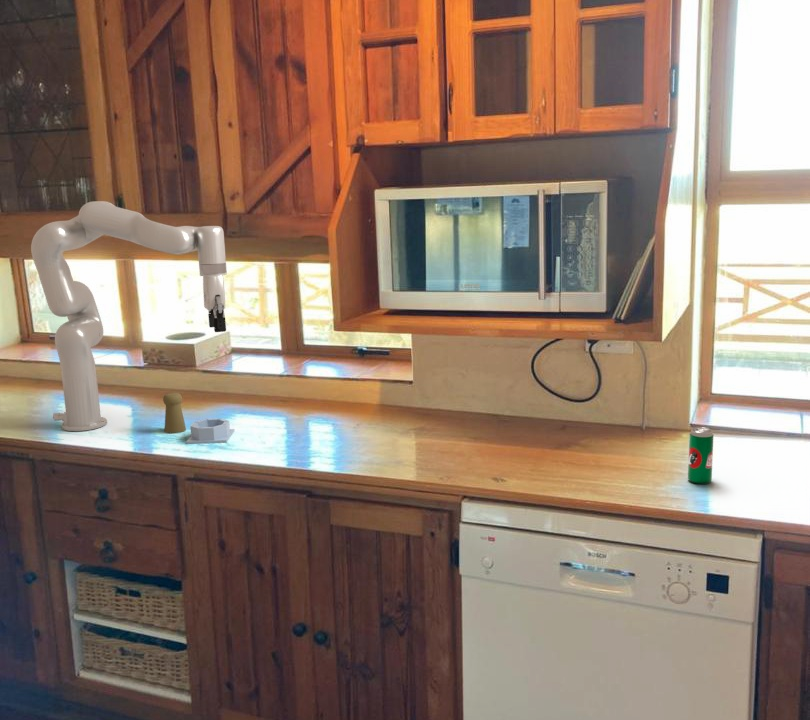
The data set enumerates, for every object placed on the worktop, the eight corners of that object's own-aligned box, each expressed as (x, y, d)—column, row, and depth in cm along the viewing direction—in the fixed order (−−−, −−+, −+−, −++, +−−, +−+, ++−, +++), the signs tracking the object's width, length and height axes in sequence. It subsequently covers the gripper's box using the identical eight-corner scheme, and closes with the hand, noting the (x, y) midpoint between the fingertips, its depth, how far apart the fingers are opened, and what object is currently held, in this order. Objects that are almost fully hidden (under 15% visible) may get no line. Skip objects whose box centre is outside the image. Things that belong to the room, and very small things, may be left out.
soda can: (711, 486, 189) (713, 433, 187) (686, 483, 191) (688, 431, 188) (711, 478, 194) (714, 427, 191) (688, 476, 195) (690, 425, 193)
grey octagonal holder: (186, 443, 233) (185, 429, 232) (195, 432, 244) (194, 418, 243) (226, 442, 233) (225, 428, 232) (234, 431, 244) (233, 417, 243)
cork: (189, 427, 249) (186, 390, 247) (181, 433, 243) (178, 395, 241) (169, 427, 250) (165, 390, 247) (161, 433, 244) (157, 396, 242)
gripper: (195, 268, 250) (200, 326, 254) (203, 273, 234) (208, 334, 238) (221, 266, 253) (225, 324, 256) (231, 271, 237) (236, 332, 240)
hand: (217, 329), depth 247 cm, fingers open, 9 cm apart
